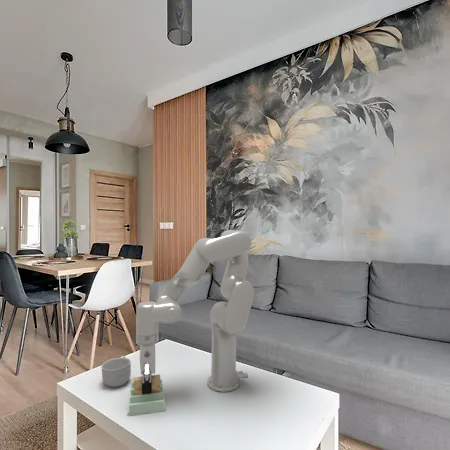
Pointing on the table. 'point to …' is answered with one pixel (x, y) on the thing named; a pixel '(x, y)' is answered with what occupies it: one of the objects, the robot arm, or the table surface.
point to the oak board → (139, 380)
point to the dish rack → (146, 402)
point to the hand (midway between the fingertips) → (146, 386)
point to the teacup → (116, 371)
